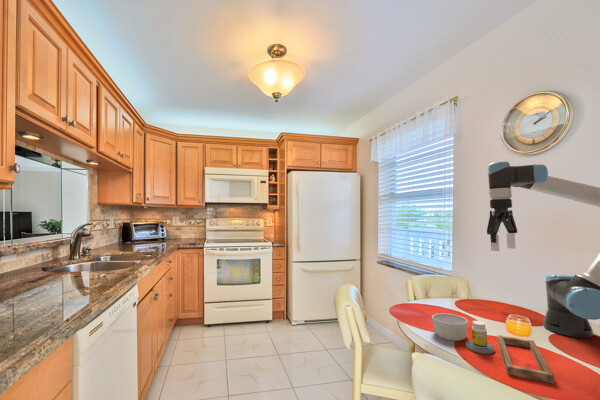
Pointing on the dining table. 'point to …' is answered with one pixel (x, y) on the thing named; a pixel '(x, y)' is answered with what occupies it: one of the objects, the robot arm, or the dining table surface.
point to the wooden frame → (542, 375)
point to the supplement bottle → (479, 334)
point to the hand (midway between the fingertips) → (503, 249)
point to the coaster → (480, 350)
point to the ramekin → (450, 326)
